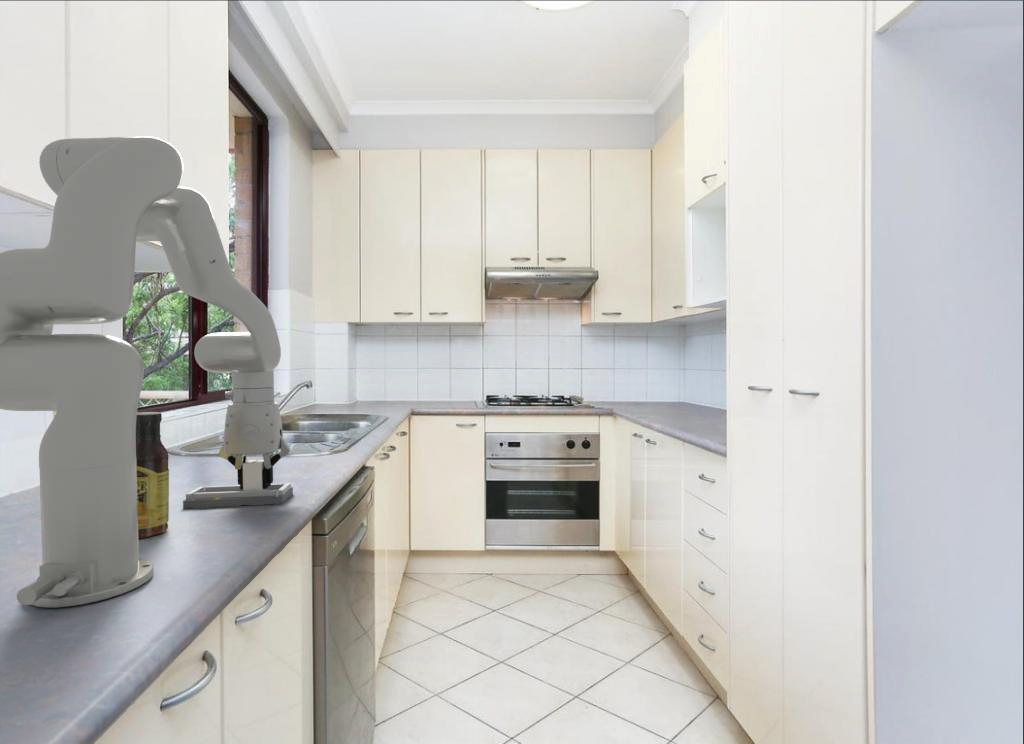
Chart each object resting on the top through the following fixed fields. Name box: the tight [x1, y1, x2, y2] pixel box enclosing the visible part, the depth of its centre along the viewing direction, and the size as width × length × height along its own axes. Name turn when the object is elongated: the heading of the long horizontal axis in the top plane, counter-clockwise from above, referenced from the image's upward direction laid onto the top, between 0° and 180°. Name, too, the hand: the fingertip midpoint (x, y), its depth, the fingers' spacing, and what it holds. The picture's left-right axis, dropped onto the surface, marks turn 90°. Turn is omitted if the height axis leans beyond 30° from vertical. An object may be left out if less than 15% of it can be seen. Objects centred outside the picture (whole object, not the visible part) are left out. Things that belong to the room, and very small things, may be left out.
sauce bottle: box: [136, 411, 170, 539], centre depth 87 cm, size 6×6×20 cm
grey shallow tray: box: [182, 482, 294, 509], centre depth 108 cm, size 8×18×2 cm, turn 98°
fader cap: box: [243, 459, 267, 491], centre depth 108 cm, size 4×4×6 cm
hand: (255, 486), depth 108 cm, fingers closed on fader cap, 3 cm apart
